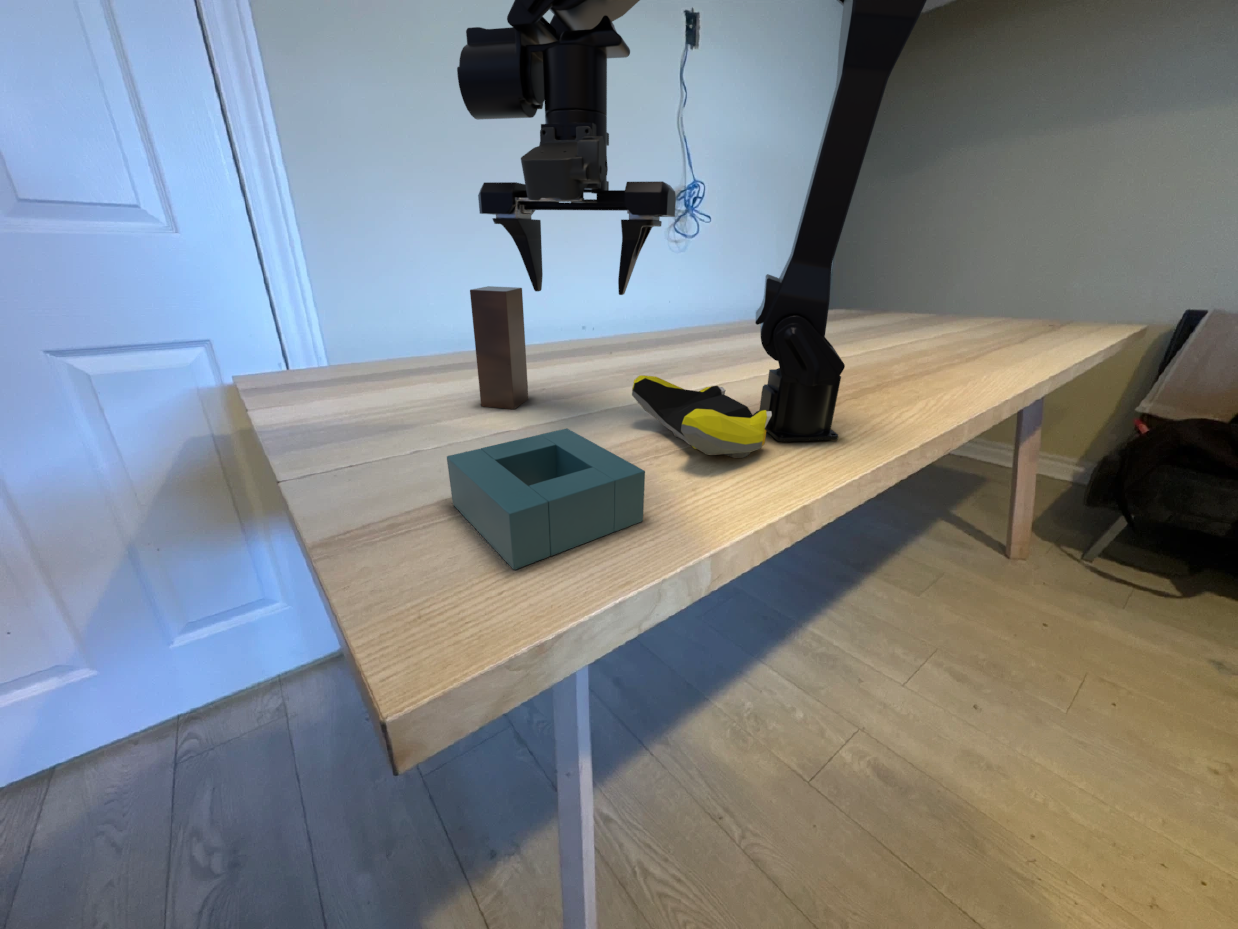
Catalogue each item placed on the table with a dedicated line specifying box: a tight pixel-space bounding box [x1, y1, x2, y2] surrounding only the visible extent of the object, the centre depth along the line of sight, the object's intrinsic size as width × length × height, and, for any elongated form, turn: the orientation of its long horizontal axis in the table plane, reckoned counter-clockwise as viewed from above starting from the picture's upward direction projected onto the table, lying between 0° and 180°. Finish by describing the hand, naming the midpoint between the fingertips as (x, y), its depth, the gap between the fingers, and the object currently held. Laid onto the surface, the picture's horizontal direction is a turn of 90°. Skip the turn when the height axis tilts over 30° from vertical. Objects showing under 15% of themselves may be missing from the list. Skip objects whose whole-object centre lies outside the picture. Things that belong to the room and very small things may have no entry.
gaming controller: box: [631, 374, 772, 459], centre depth 50 cm, size 15×6×10 cm
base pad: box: [446, 427, 646, 571], centre depth 37 cm, size 10×10×4 cm
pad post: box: [469, 285, 529, 410], centre depth 59 cm, size 4×4×13 cm
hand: (579, 292), depth 54 cm, fingers open, 9 cm apart
